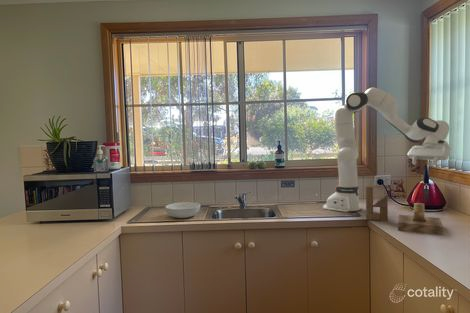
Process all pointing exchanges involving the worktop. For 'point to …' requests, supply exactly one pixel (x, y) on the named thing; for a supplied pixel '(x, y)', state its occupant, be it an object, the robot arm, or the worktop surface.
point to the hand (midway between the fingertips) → (422, 164)
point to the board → (420, 225)
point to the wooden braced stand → (380, 203)
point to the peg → (419, 212)
